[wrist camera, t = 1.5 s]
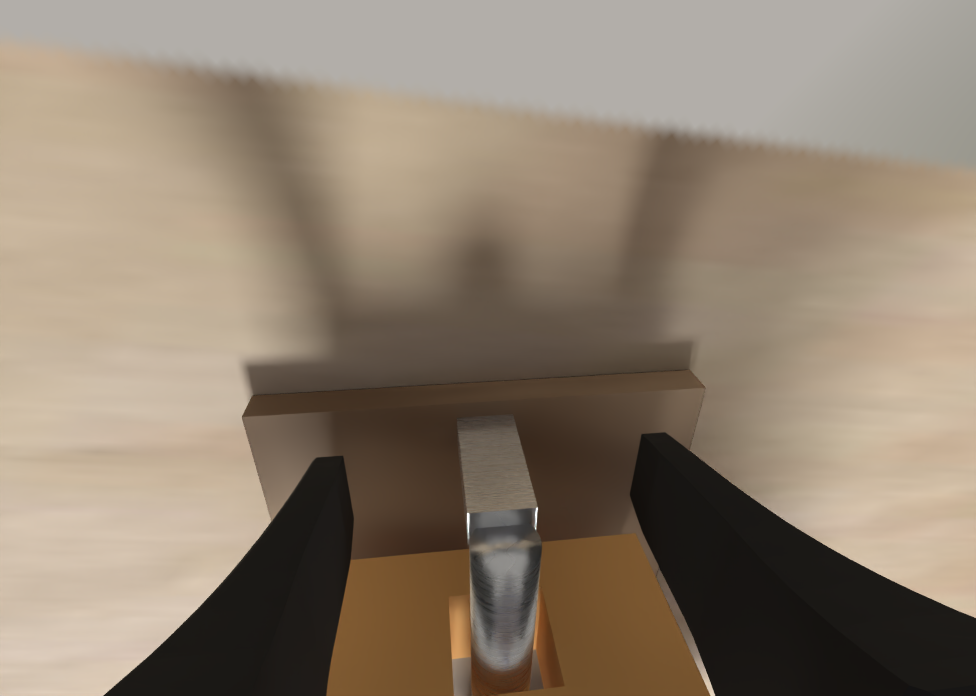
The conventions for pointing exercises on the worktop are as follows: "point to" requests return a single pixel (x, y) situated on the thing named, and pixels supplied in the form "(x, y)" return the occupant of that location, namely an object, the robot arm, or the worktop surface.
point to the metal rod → (499, 553)
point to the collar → (558, 628)
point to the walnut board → (435, 459)
